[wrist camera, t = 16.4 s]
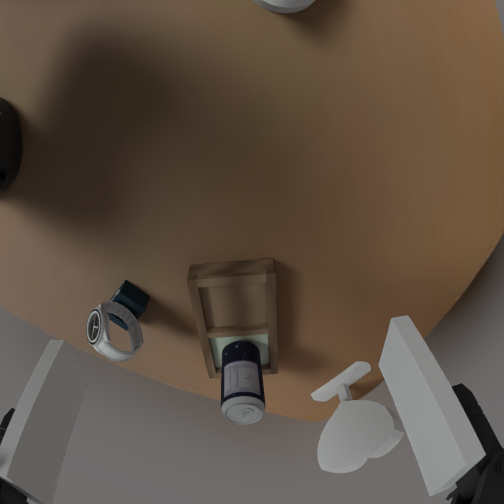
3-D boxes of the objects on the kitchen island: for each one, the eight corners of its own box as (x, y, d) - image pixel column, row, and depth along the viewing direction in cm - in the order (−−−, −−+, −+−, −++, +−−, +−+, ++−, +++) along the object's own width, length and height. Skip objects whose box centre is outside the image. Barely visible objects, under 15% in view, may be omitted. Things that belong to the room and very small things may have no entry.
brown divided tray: (210, 361, 52) (209, 378, 48) (190, 265, 43) (186, 280, 39) (275, 356, 52) (278, 373, 48) (272, 258, 43) (275, 273, 39)
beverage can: (214, 351, 47) (211, 417, 36) (237, 330, 45) (240, 397, 34) (243, 366, 49) (246, 430, 38) (267, 347, 47) (275, 412, 36)
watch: (115, 271, 42) (88, 321, 33) (159, 303, 45) (144, 357, 36) (98, 294, 44) (72, 344, 35) (140, 323, 47) (123, 376, 37)
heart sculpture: (319, 406, 60) (336, 480, 44) (303, 398, 58) (318, 477, 42) (378, 364, 55) (410, 440, 39) (365, 354, 53) (397, 436, 37)
